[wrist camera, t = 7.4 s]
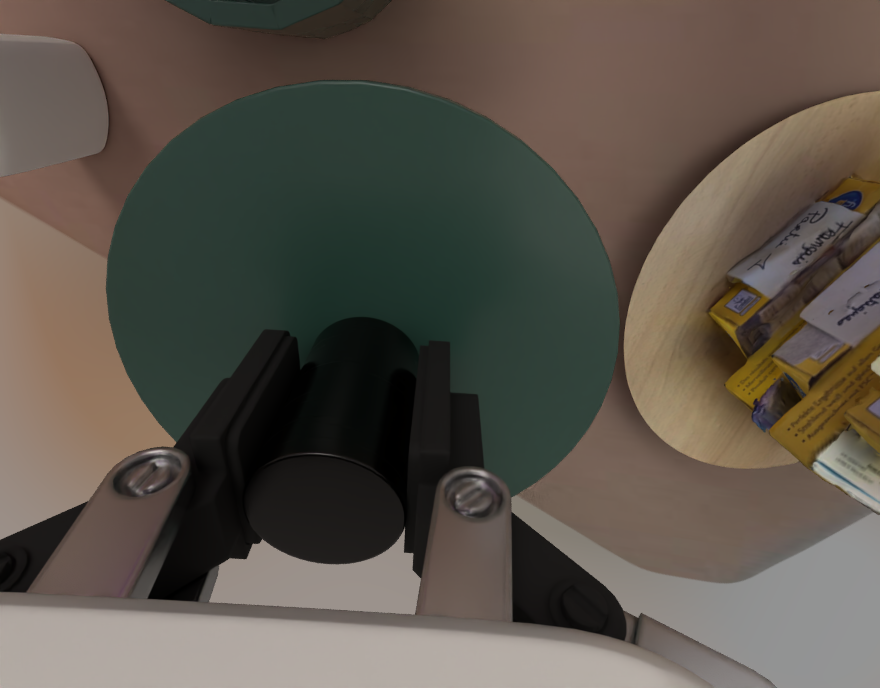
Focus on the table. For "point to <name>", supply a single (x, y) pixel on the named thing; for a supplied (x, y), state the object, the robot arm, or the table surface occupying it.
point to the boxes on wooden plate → (771, 305)
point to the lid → (362, 295)
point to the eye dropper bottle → (48, 103)
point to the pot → (285, 15)
